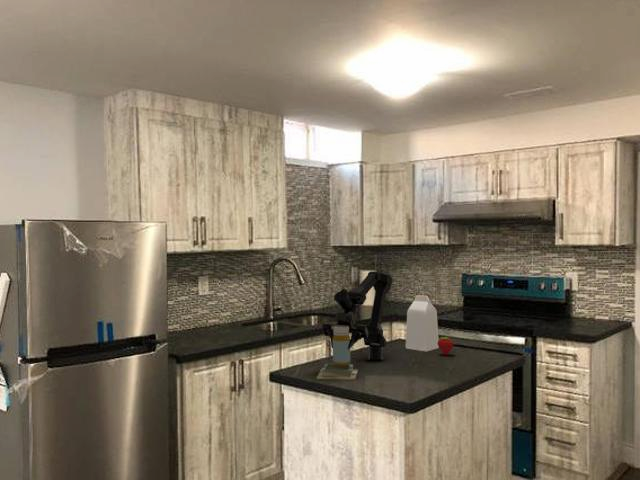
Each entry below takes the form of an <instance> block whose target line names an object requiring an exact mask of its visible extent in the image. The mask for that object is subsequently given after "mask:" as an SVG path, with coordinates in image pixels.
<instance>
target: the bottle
mask: <svg viewBox="0 0 640 480" xmlns="http://www.w3.org/2000/svg"><path fill="white" fill-rule="evenodd" d="M350 339H351V337H350V333H349V326H345V325H334V336H333V348H332V364H335V365H339V366H343V365H348V364H351V348H350V349H348V345H349V342H350Z"/></svg>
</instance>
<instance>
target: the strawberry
mask: <svg viewBox="0 0 640 480" xmlns="http://www.w3.org/2000/svg"><path fill="white" fill-rule="evenodd" d="M438 340H439V341H438V343H437V344H438V347H439V348H438V349H439V350H440V351H441V352H442V354H443V355H444V356H447V355H448V354H449V353H450V352H451V351H452V349H453V348H454V342H453V340H452V339H451V337H447V336H443V337H441V336H440V337H439V339H438Z"/></svg>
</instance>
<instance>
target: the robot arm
mask: <svg viewBox="0 0 640 480" xmlns="http://www.w3.org/2000/svg"><path fill="white" fill-rule="evenodd" d="M393 281H394V280H393V277H392V276H391V275H390V274H386V273H382V272H380V271H372V270H371V271H368V273H367V275H366V276H365V278H364V279H363V280H362V281H361V282H360V284H358V285H357V287H354V288H352V289H350V290H349V291H348V290H347V288H341V290H339V291H337V293H335V294H334V296H333V300H334V301H335V302H336V303H337V306H338V308H339V309H341V310H342V312H336V314H335V321H336V326H338V325H345V326H349V334H351V337H350V342H349V345H348V349H350V350H351V349H352V347H353V346H354V345H355V344H356V343H357V342H358V341H360V340H362V339H363V343H364V346H368V358H367V360H368V361H376V362H377V361H378V362H379V361H380V362H382V361H383V360H384V359H383V358H384V357H383V354H382V353H383V351H382V350H383V348H385V347H386V346H387V339H386V338H385V336H384V329H383V327H382V320H383V314H384V308H385V303H386V295H387V294H388V293H389V291H390V290H391V288H392V285H393ZM372 288H373V289H374V291H375V292H374V299H373V303H372V309H371V316H370V321H369V323H368V324H365V325H364V324H357V325H356V322H355V320H356V315H357V314H359V313H360V311H359V309H358V306H362V305H364V304H365V301H366V300H367V294H368V293H369V292H370V291H371V289H372ZM333 325H334V324H333V323H327V322H326V323H325V322H324V323H322V325H321V331H322V334H323V335H324V336H326V337H328V338H330V346H331V348H332V349H333V336H334V326H335V325H334V326H333ZM354 325H355V327H354Z"/></svg>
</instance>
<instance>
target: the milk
mask: <svg viewBox="0 0 640 480" xmlns="http://www.w3.org/2000/svg"><path fill="white" fill-rule="evenodd" d="M431 302H432V301H430V299H429V295H422V294H421V295H419V294H417V295H416V296H415V297H414V301H412V303H411V305H410V306H409V308H408V309H407V311H406V312H407V314H406V332H405V349H407V350H413V351H414V350H415V351H420V352H426V353H427V352H429V351H433V350H437V349H439V347H438V344H437V343H438V341H439V340H440V339H439V326H438V313H437V309H436V308H435V306H434V305H433V304H432V303H431Z"/></svg>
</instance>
